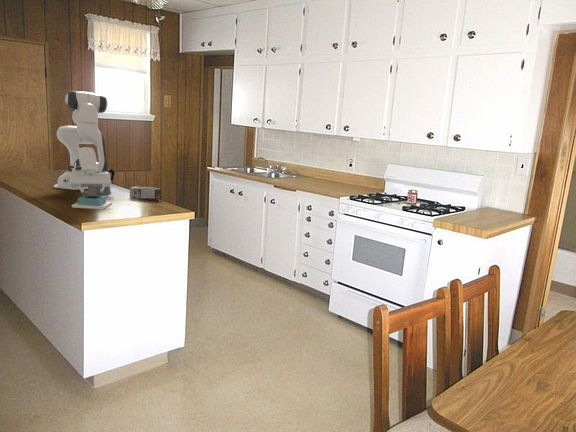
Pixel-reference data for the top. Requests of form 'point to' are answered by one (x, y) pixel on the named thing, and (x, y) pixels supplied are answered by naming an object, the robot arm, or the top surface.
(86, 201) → the keeper board
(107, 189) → the coffeepot
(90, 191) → the steel pin
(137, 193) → the coffee box
